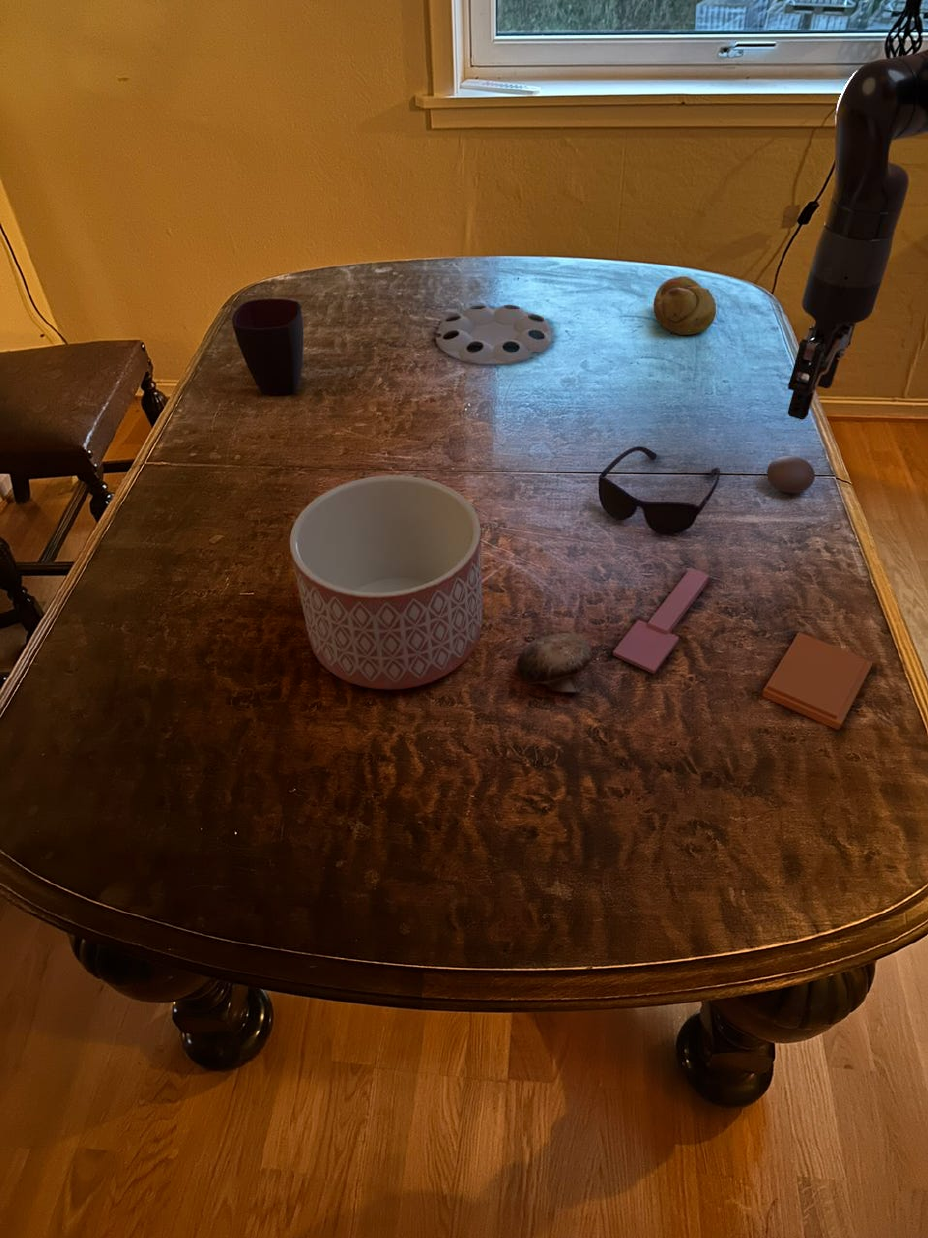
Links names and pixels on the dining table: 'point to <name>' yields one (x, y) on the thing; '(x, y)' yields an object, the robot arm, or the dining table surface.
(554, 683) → the mushroom
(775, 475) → the egg
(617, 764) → the dining table surface
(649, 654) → the spatula
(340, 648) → the planter
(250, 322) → the cup
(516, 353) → the paint palette
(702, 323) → the bread roll
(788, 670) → the brown flat block
